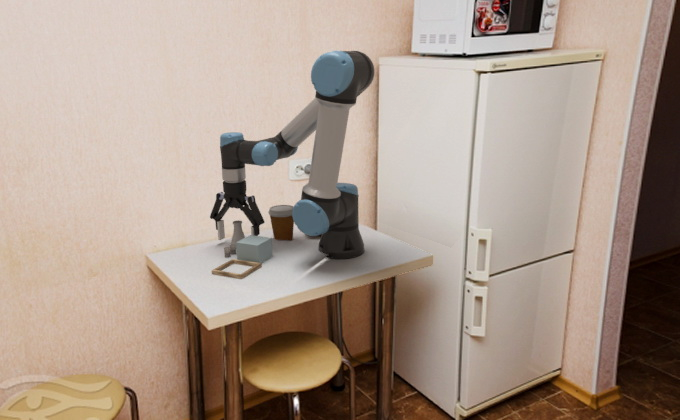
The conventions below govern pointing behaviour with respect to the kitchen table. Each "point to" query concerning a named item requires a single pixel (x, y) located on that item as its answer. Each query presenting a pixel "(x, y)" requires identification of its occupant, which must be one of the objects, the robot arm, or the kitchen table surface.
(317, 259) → the kitchen table surface
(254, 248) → the pale blue block
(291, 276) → the kitchen table surface
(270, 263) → the kitchen table surface
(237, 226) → the flask
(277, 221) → the disposable coffee cup
